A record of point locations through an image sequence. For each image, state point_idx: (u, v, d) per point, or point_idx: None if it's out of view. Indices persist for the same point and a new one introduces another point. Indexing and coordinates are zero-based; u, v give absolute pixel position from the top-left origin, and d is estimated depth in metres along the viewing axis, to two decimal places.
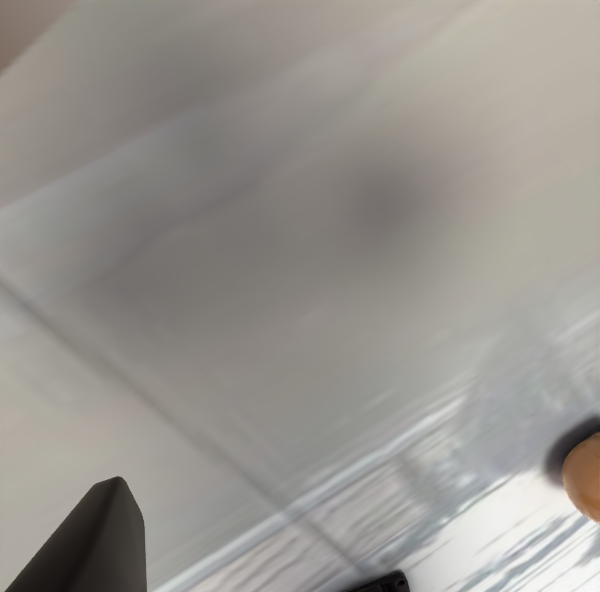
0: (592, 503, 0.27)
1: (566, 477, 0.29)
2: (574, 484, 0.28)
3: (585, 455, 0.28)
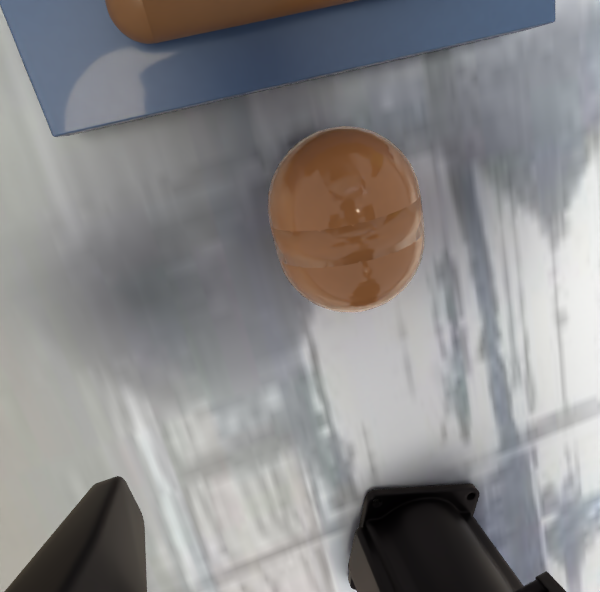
0: (336, 310, 0.16)
1: None
2: None
3: None
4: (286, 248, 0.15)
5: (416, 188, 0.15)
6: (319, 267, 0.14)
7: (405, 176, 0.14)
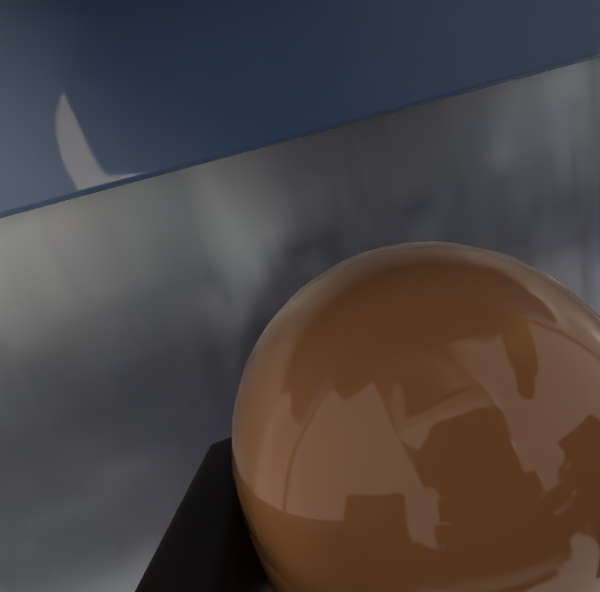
0: None
1: None
2: None
3: None
4: None
5: None
6: None
7: None
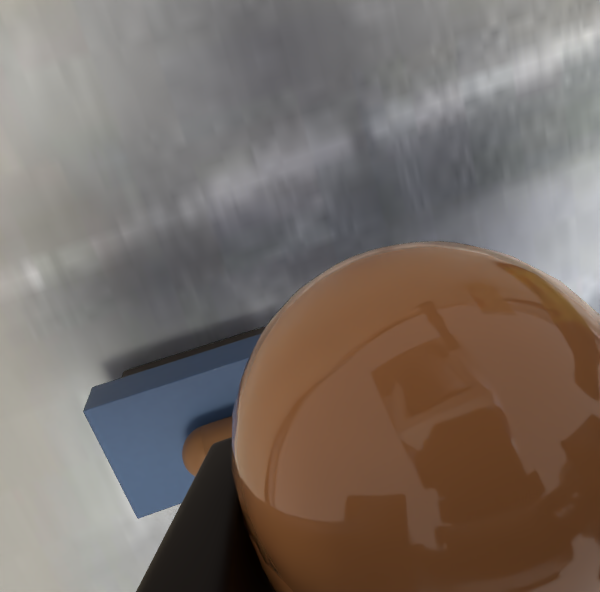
0: None
1: None
2: None
3: None
4: None
5: None
6: None
7: None
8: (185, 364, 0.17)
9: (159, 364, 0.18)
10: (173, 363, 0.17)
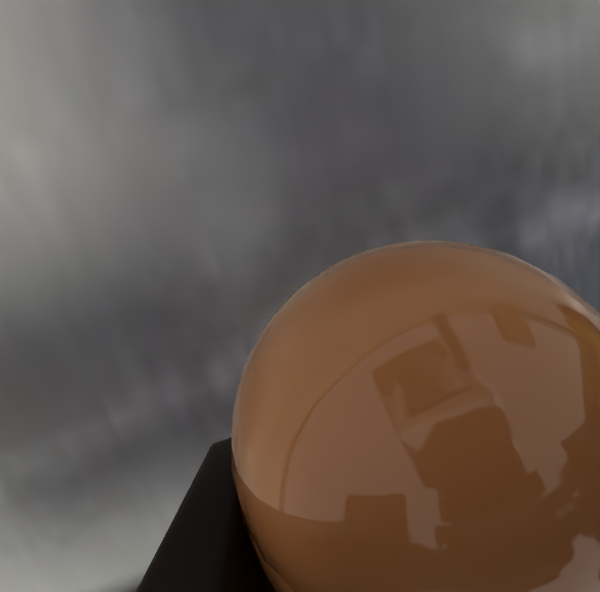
0: None
1: None
2: None
3: None
4: None
5: None
6: None
7: None
8: None
9: None
10: None
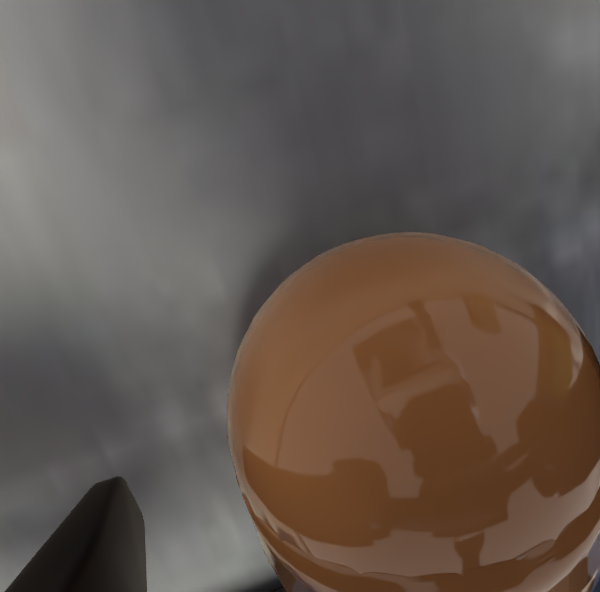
0: None
1: None
2: None
3: None
4: (269, 549, 0.06)
5: None
6: None
7: (597, 398, 0.05)
8: None
9: None
10: None
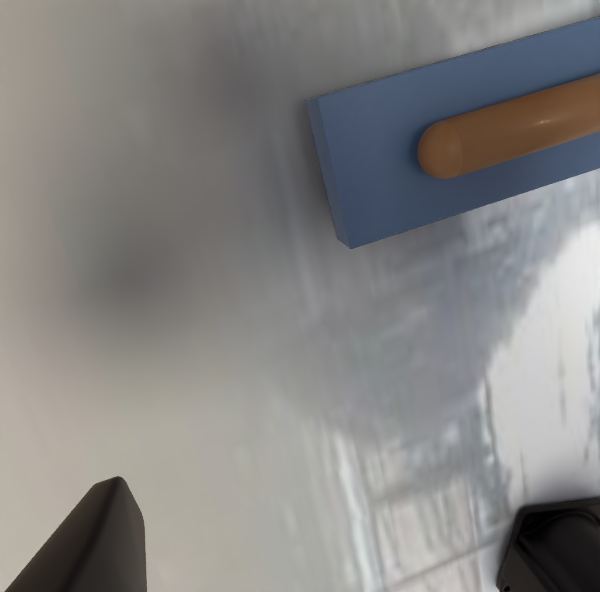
0: None
1: None
2: None
3: None
4: None
5: None
6: None
7: None
8: None
9: None
10: (390, 75, 0.16)
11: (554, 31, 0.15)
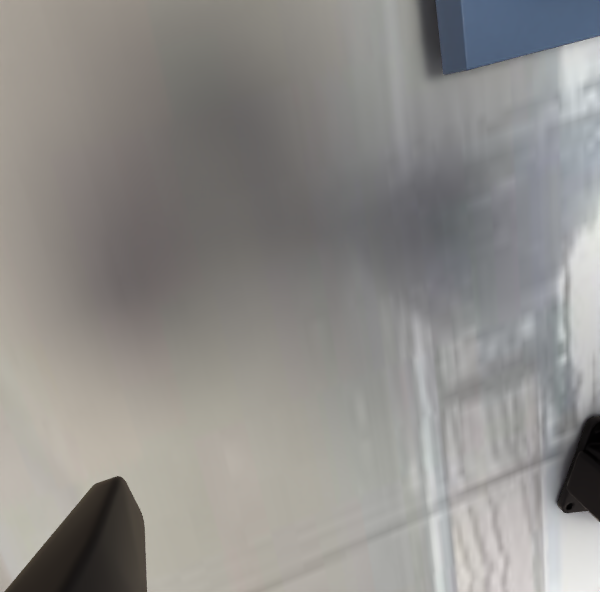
0: None
1: None
2: None
3: None
4: None
5: None
6: None
7: None
8: None
9: None
10: None
11: None
